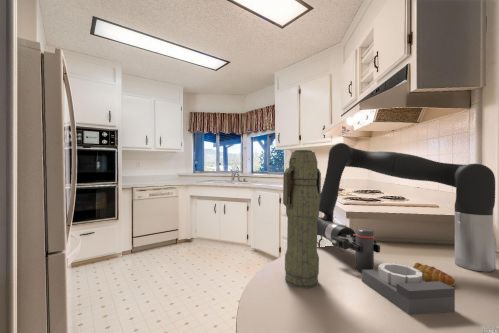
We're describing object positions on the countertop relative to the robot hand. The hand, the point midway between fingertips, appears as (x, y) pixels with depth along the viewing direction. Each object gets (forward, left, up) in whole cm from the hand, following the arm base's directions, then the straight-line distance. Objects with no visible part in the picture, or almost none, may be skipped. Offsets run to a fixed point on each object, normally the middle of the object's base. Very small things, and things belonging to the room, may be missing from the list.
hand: (370, 249), depth 72 cm
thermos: (+22, +2, -7) cm, 23 cm away
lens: (0, -3, -7) cm, 7 cm away
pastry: (-15, +5, -8) cm, 17 cm away
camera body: (0, +12, -7) cm, 14 cm away
